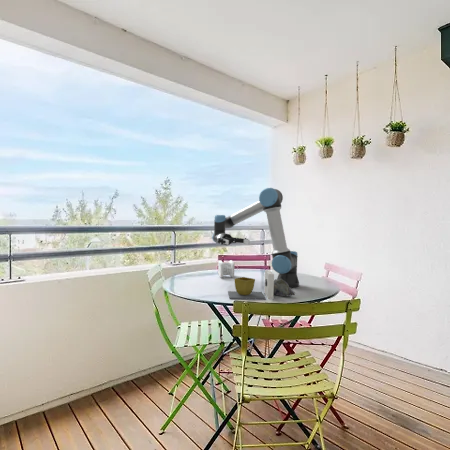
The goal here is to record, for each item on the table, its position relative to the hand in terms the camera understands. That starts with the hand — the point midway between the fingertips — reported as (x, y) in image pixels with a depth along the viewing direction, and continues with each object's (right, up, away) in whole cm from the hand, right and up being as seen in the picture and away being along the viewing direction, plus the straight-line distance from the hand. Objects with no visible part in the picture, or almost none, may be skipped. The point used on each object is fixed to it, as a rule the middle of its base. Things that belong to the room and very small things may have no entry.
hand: (238, 242), depth 198 cm
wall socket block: (+17, -31, -7) cm, 36 cm away
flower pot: (+3, -30, -8) cm, 31 cm away
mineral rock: (+25, -31, -5) cm, 40 cm away
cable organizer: (-8, -28, +47) cm, 55 cm away
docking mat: (+4, -30, -8) cm, 32 cm away
